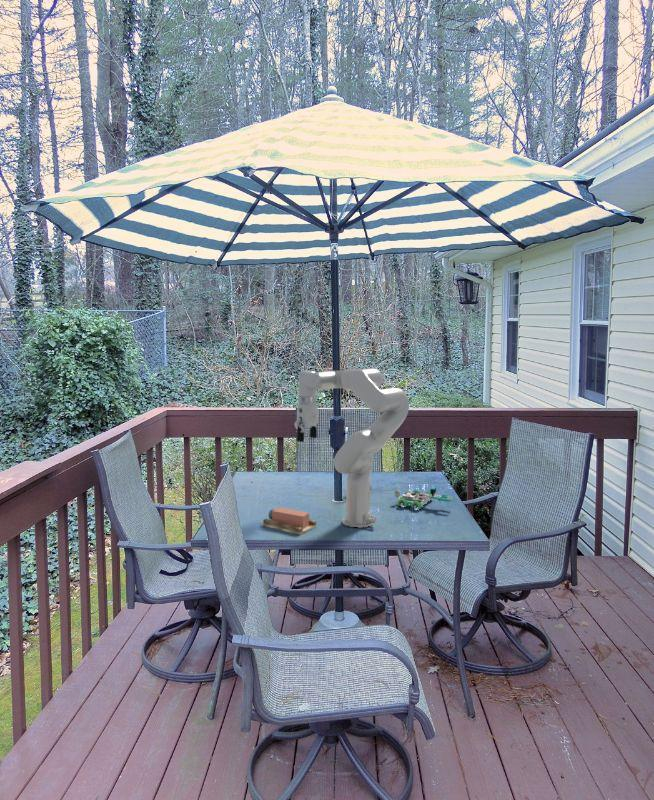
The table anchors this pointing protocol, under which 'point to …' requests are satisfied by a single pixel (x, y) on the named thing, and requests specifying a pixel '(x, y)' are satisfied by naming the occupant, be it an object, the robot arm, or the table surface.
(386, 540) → the table surface
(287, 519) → the salmon rectangular block
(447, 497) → the robot kit
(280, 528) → the cradle
